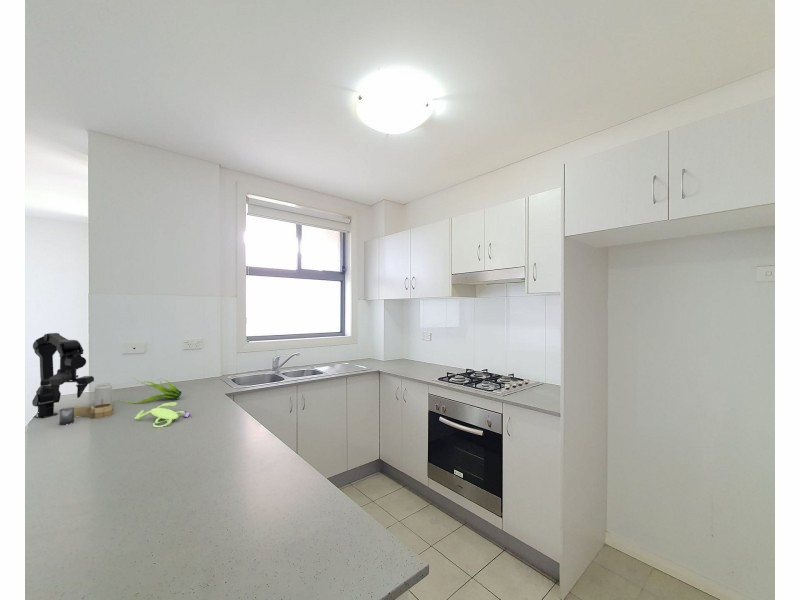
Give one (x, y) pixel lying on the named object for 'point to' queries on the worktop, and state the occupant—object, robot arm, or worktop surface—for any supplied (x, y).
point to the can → (103, 393)
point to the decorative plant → (169, 392)
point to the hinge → (95, 410)
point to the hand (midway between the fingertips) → (67, 398)
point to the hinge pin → (66, 416)
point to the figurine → (163, 414)
